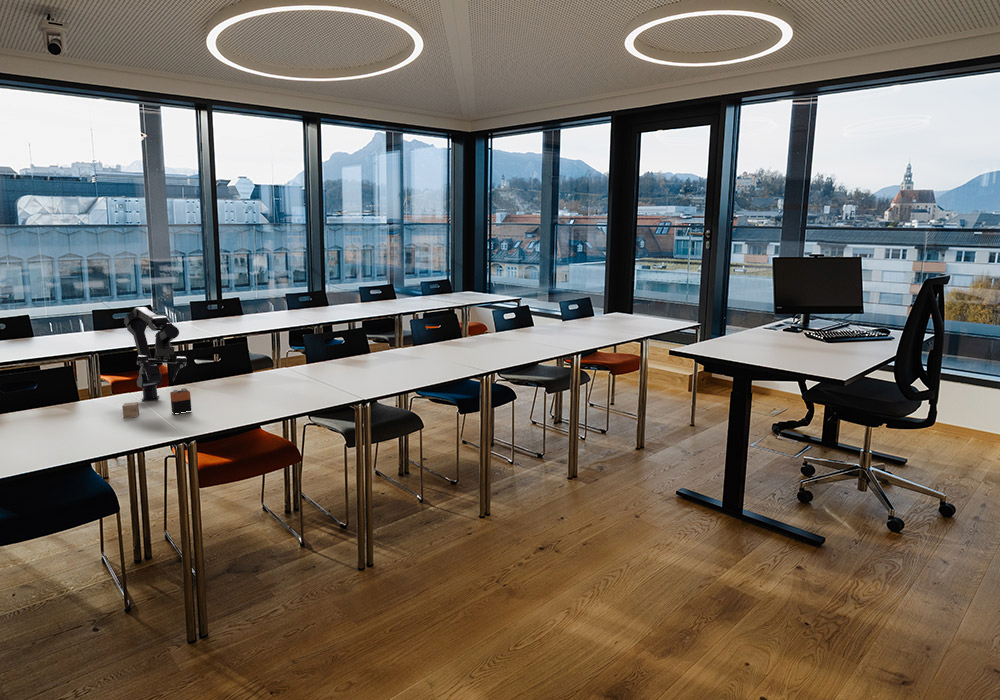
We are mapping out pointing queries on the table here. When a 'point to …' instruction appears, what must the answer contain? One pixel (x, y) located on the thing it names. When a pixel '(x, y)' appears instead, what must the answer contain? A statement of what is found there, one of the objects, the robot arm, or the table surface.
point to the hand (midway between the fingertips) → (161, 380)
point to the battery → (180, 401)
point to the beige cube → (130, 409)
